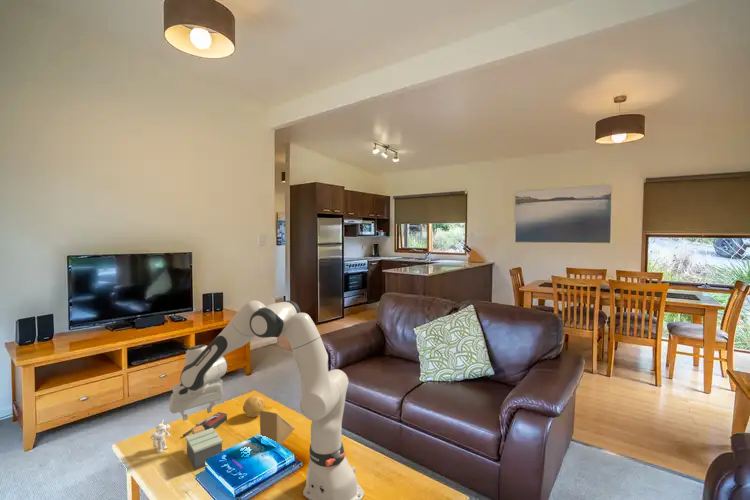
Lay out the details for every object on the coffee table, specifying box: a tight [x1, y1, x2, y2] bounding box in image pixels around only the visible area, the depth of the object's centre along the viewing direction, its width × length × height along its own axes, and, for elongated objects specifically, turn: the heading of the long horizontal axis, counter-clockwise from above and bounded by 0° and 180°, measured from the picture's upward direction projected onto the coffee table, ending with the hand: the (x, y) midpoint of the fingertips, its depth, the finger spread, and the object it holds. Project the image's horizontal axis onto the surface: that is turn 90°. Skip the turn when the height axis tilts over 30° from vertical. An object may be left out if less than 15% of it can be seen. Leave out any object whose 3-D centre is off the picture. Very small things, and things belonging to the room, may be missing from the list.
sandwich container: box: [259, 410, 295, 445], centre depth 156 cm, size 9×15×15 cm, turn 163°
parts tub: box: [186, 440, 223, 471], centre depth 141 cm, size 12×10×7 cm
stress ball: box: [242, 395, 266, 418], centre depth 173 cm, size 10×10×10 cm
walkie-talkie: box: [183, 411, 228, 437], centre depth 163 cm, size 9×4×20 cm
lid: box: [185, 425, 224, 453], centre depth 142 cm, size 16×10×3 cm, turn 42°
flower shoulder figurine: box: [150, 418, 172, 454], centre depth 146 cm, size 9×4×12 cm, turn 169°
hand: (197, 415), depth 147 cm, fingers open, 8 cm apart
